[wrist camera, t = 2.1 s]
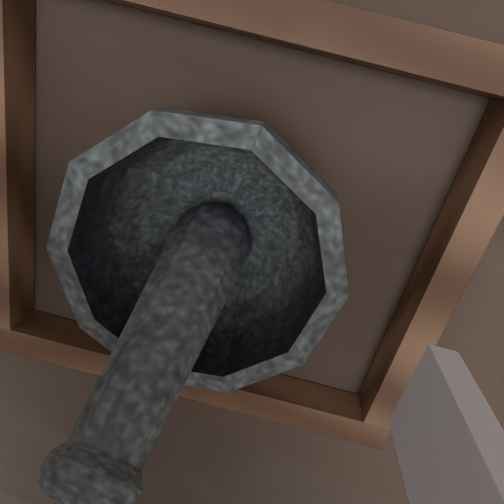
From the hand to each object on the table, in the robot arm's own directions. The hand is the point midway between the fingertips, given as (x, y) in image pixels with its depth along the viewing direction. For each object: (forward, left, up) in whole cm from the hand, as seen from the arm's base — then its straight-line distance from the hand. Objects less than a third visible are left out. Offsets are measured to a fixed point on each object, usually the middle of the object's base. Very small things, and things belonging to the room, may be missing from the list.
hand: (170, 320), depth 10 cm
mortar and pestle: (0, 0, -10) cm, 10 cm away
